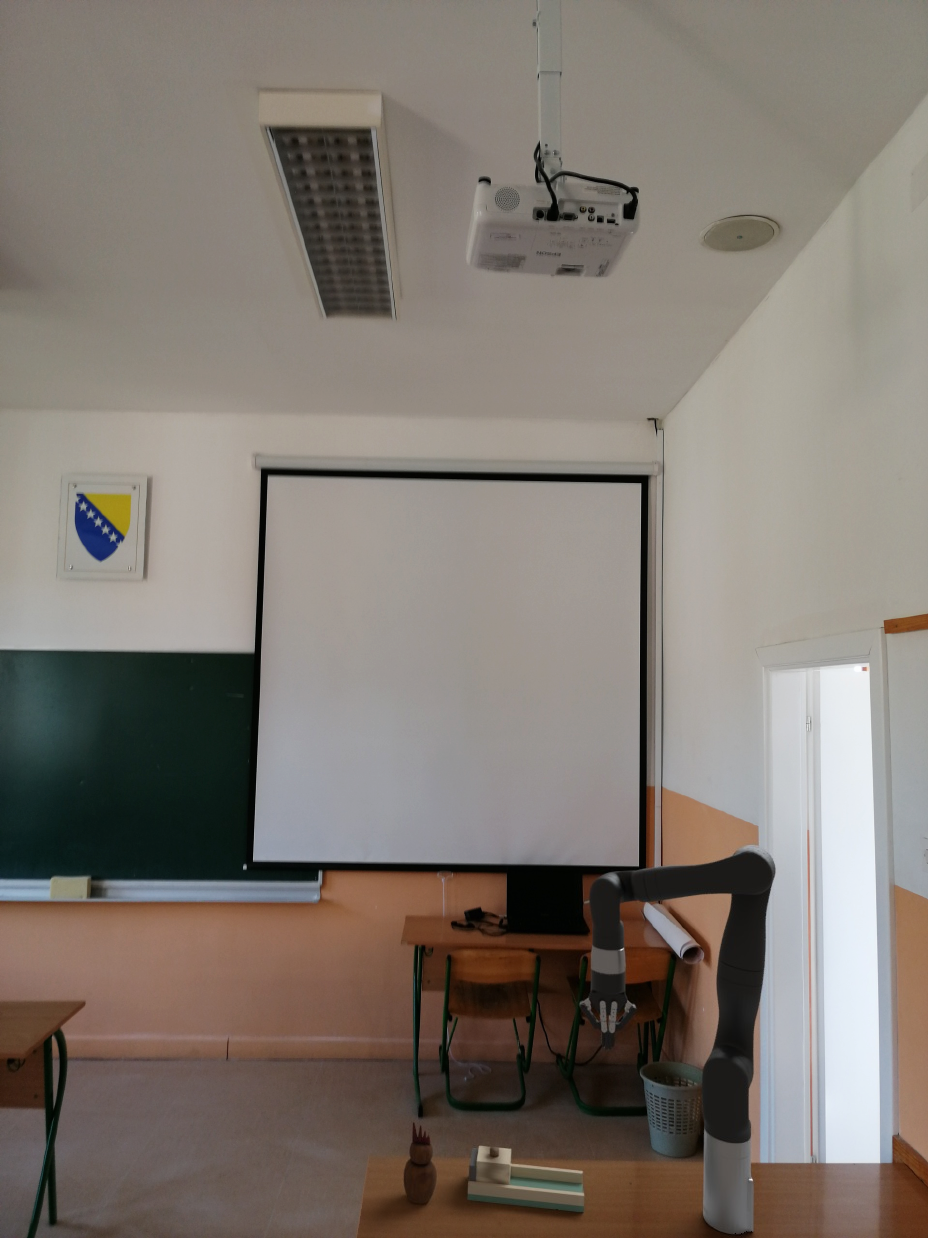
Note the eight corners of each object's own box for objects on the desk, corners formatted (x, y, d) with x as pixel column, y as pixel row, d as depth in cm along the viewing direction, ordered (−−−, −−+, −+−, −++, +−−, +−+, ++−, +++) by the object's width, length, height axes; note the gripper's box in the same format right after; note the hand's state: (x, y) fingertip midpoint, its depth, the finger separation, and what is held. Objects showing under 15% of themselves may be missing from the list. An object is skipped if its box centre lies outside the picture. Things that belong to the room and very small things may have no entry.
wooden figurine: (397, 1201, 169) (401, 1125, 171) (412, 1187, 174) (415, 1113, 176) (426, 1212, 166) (429, 1134, 168) (440, 1197, 171) (443, 1122, 173)
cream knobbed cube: (510, 1176, 177) (511, 1143, 178) (508, 1192, 171) (510, 1158, 172) (478, 1172, 178) (479, 1140, 179) (475, 1189, 172) (476, 1155, 173)
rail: (582, 1187, 177) (582, 1156, 177) (583, 1212, 168) (584, 1180, 169) (471, 1175, 180) (472, 1145, 180) (467, 1200, 171) (468, 1168, 171)
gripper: (636, 963, 185) (636, 1043, 183) (577, 960, 186) (576, 1039, 185) (640, 974, 178) (640, 1058, 176) (578, 970, 179) (577, 1054, 177)
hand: (607, 1048), depth 180 cm, fingers closed
